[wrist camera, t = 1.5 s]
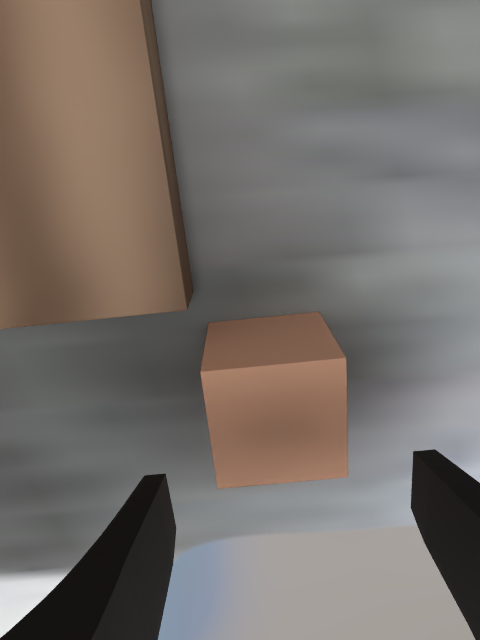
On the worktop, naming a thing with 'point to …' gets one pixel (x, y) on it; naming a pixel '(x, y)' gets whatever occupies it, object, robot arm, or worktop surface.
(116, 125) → the walnut block
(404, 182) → the worktop surface
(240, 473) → the terracotta cube
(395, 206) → the worktop surface
